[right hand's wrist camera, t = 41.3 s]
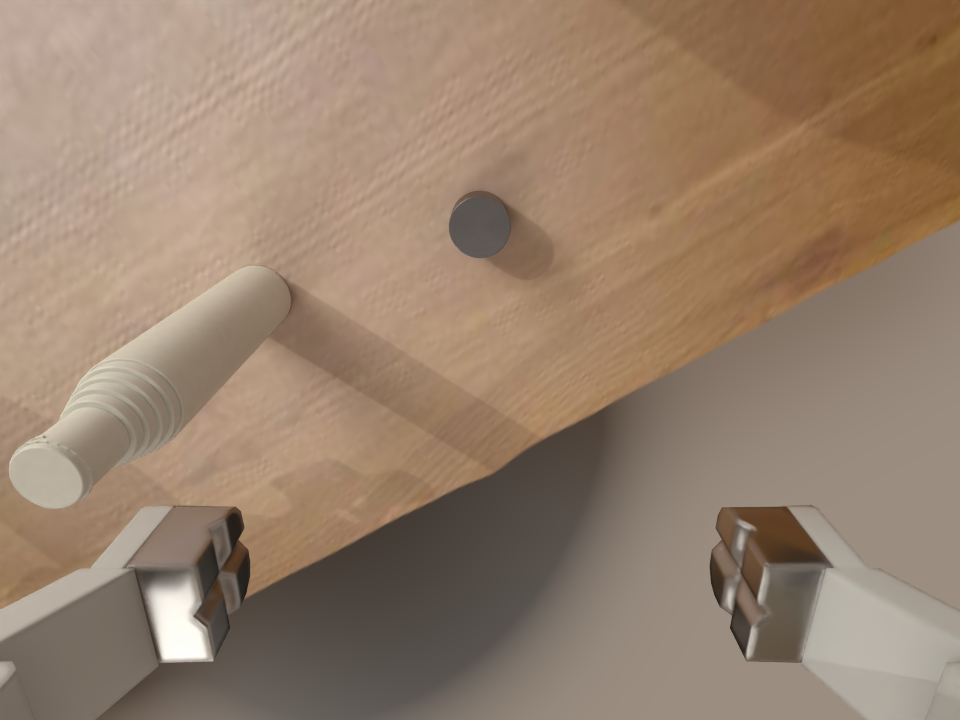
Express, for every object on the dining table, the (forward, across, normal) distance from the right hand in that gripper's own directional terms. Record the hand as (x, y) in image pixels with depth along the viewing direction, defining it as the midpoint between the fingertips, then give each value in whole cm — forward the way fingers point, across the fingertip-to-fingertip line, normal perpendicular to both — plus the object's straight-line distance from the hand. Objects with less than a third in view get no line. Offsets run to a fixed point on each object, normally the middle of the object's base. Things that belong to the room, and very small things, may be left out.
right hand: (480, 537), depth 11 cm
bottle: (+33, +15, +5) cm, 37 cm away
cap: (+33, 0, 0) cm, 33 cm away
